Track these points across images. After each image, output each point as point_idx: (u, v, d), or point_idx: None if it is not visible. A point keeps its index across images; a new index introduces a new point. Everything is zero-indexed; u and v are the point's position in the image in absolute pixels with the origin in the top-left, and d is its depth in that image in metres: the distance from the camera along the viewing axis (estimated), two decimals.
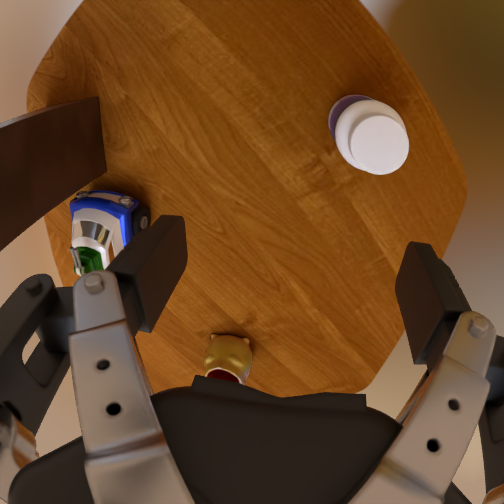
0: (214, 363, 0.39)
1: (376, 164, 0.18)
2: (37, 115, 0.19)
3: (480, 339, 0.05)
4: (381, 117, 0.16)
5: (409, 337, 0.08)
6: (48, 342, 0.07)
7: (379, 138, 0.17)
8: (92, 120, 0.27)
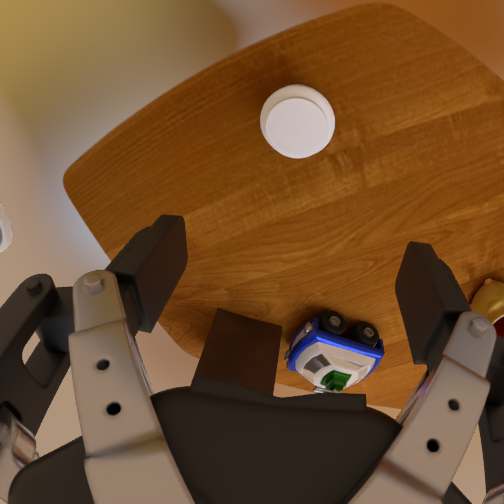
0: None
1: (316, 136, 0.18)
2: (198, 365, 0.33)
3: (480, 339, 0.05)
4: (267, 123, 0.18)
5: (409, 337, 0.08)
6: (48, 342, 0.07)
7: (288, 128, 0.18)
8: (233, 321, 0.40)
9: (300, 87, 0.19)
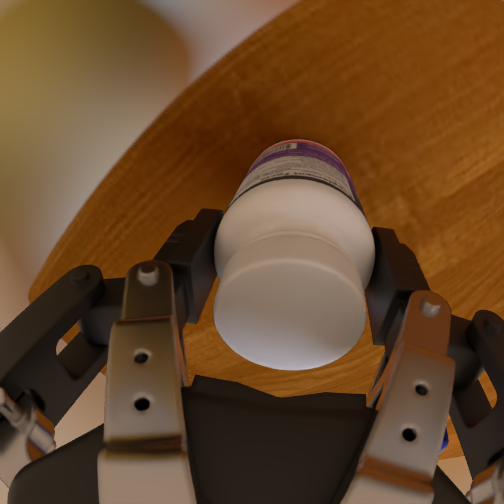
0: None
1: (337, 332, 0.08)
2: None
3: (431, 316, 0.06)
4: (218, 323, 0.08)
5: (370, 318, 0.09)
6: (88, 335, 0.07)
7: (270, 328, 0.08)
8: None
9: (284, 191, 0.08)
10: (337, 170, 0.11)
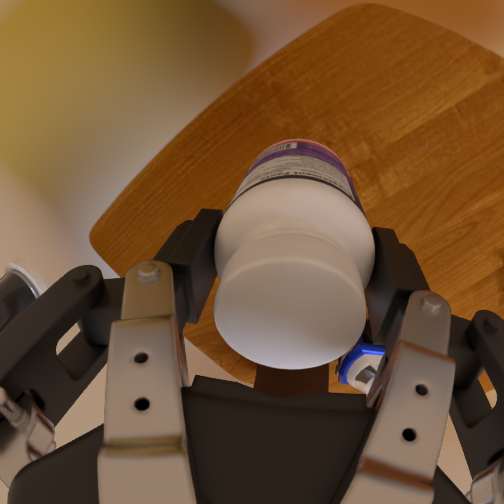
0: None
1: (337, 331, 0.08)
2: None
3: (431, 316, 0.06)
4: (219, 321, 0.08)
5: (370, 319, 0.09)
6: (88, 335, 0.07)
7: (270, 327, 0.08)
8: None
9: (284, 190, 0.09)
10: (337, 170, 0.11)
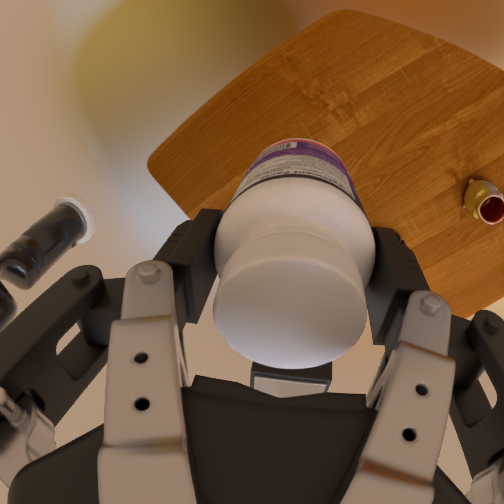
0: (477, 211, 0.39)
1: (338, 331, 0.08)
2: None
3: (431, 316, 0.06)
4: (219, 321, 0.08)
5: (370, 319, 0.09)
6: (88, 335, 0.07)
7: (270, 326, 0.08)
8: None
9: (284, 189, 0.08)
10: (337, 169, 0.11)
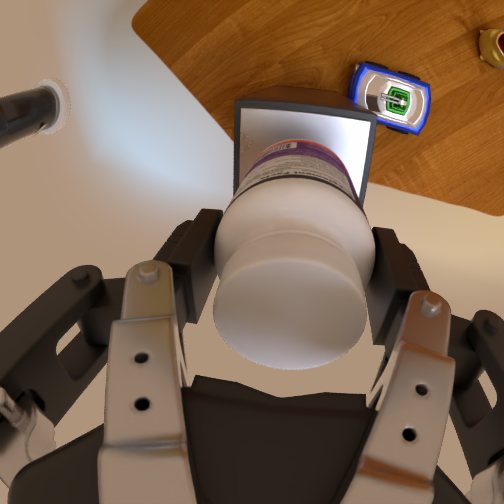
0: (496, 48, 0.25)
1: (338, 332, 0.08)
2: None
3: (431, 316, 0.06)
4: (218, 322, 0.08)
5: (370, 318, 0.09)
6: (88, 335, 0.07)
7: (270, 327, 0.08)
8: None
9: (284, 189, 0.08)
10: (337, 169, 0.11)
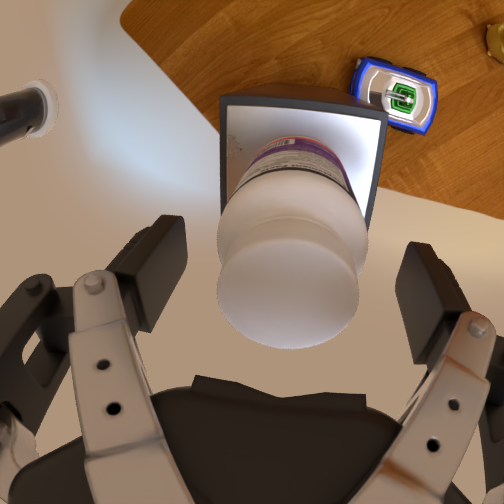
0: None
1: (332, 310, 0.08)
2: None
3: (480, 339, 0.05)
4: (222, 301, 0.09)
5: (409, 337, 0.08)
6: (48, 342, 0.07)
7: (270, 306, 0.09)
8: None
9: (282, 180, 0.09)
10: (332, 163, 0.12)
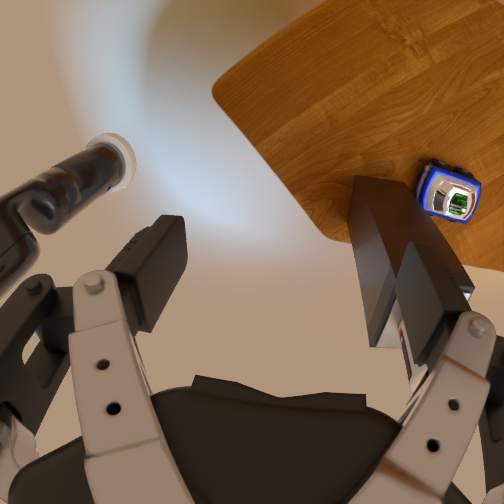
0: None
1: None
2: (366, 197, 0.40)
3: (480, 339, 0.05)
4: None
5: (409, 337, 0.08)
6: (48, 342, 0.07)
7: None
8: (371, 180, 0.46)
9: None
10: None
